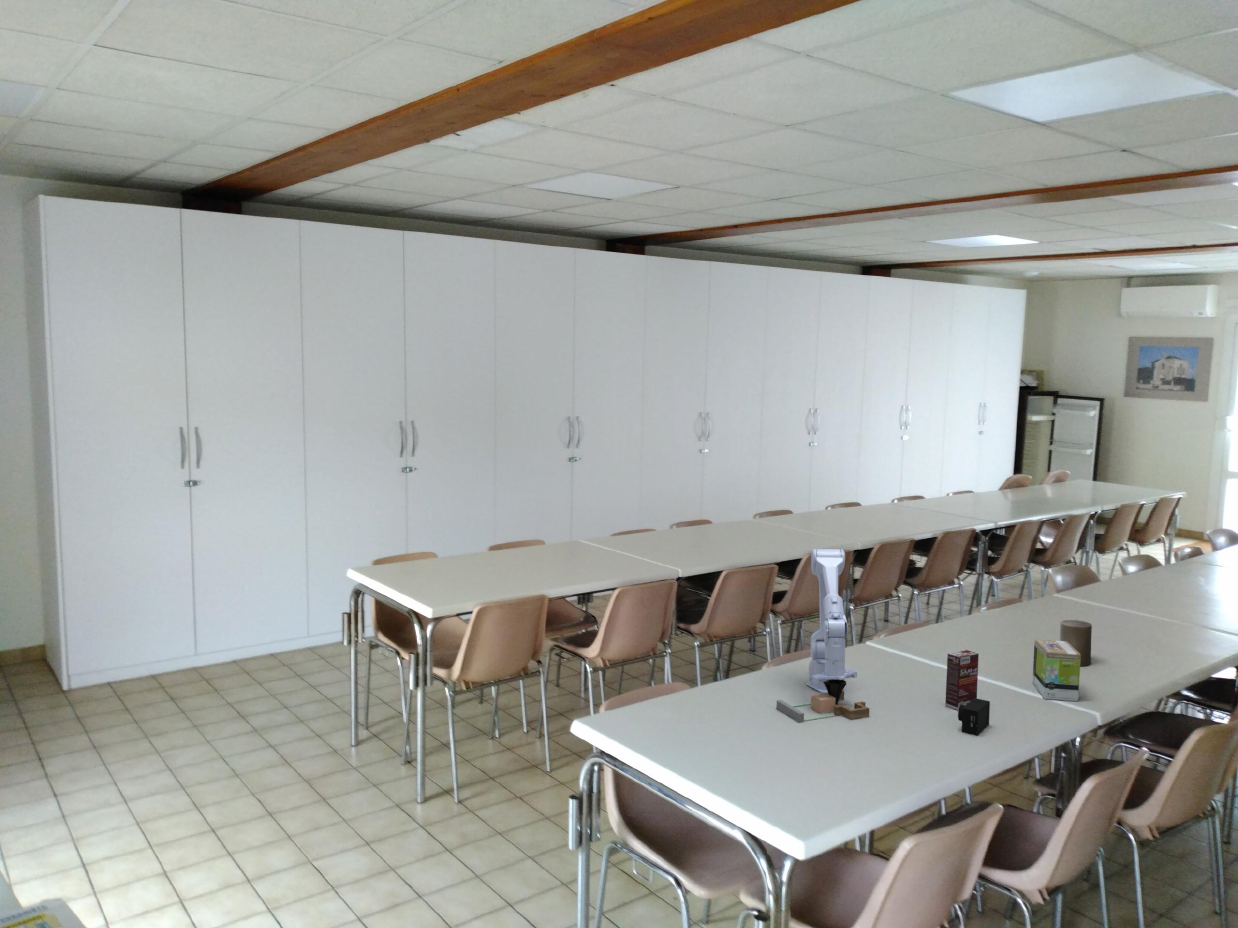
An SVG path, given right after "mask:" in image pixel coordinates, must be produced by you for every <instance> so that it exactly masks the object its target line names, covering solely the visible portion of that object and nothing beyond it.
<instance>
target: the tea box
mask: <svg viewBox="0 0 1238 928" xmlns="http://www.w3.org/2000/svg"><path fill="white" fill-rule="evenodd" d="M1080 661H1081V654H1080V653H1079V652H1078V651H1077V650H1075V649H1074V648H1073V647H1072V646H1071V645H1070V644H1069V643H1068V642H1067V641H1060V640H1051V639H1050V640H1048V639H1034V647H1033V661H1032V662H1033V664H1032V666H1033V667H1032V684H1033V686H1034V687H1035V689H1037V691H1038V692H1039V693H1040V695H1041V696H1042V697H1043V699H1044V700H1052V701H1068V702H1078V701H1079V693H1080V692H1079V691H1080V688H1079V687H1080V675H1081V666H1080Z"/></svg>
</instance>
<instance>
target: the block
mask: <svg viewBox="0 0 1238 928" xmlns="http://www.w3.org/2000/svg"><path fill="white" fill-rule="evenodd" d="M810 702H811V705H810V708H811V710H813V711H815V712H817V713H819V714H822V715H823V714H828V713H834V706H836V705H835V698H834V697H833V696H831V695H829V694H827V693H821V692H819V693H816V694H815V693H813V694H811V695H810Z"/></svg>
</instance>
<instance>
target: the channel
mask: <svg viewBox="0 0 1238 928" xmlns="http://www.w3.org/2000/svg"><path fill="white" fill-rule="evenodd" d="M827 694H828V693H827ZM844 700H845V690H844V691H842V693H841V695H840V699H839V701H844ZM853 705H854V707H853V709H852V708H850V707H848V706H846V705H845V704H839V705H835V706H834V712H833V714H834V715H835V717H837V716H842V717H844V718H846V719H848V720H850V721H853V720H860V719H863V718H869V717H870V707H868V706H866V702H864V701H857V702H854V704H853Z"/></svg>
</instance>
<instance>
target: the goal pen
mask: <svg viewBox="0 0 1238 928" xmlns="http://www.w3.org/2000/svg"><path fill="white" fill-rule="evenodd" d="M809 705H810V706H811V701H810V702H806V703H799V704H793V705H791V704H789V703H787V702H786V701H784V700H782V699H777V700H776V709H777V710H778V711H780V712H782V713H783V714H785V715H786V716H788V717H789V718H791V719H792V720H794V721H796V722H798V723H804V722H809V721H814V720H815V721H816V720H821V719H826V718H833V717H836V715H834V713H833V714H828V715H822V716H816V717H810V718H805V713H804V712H803V711H801V710H800V709H797V708H799V707H804V706H809Z"/></svg>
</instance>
